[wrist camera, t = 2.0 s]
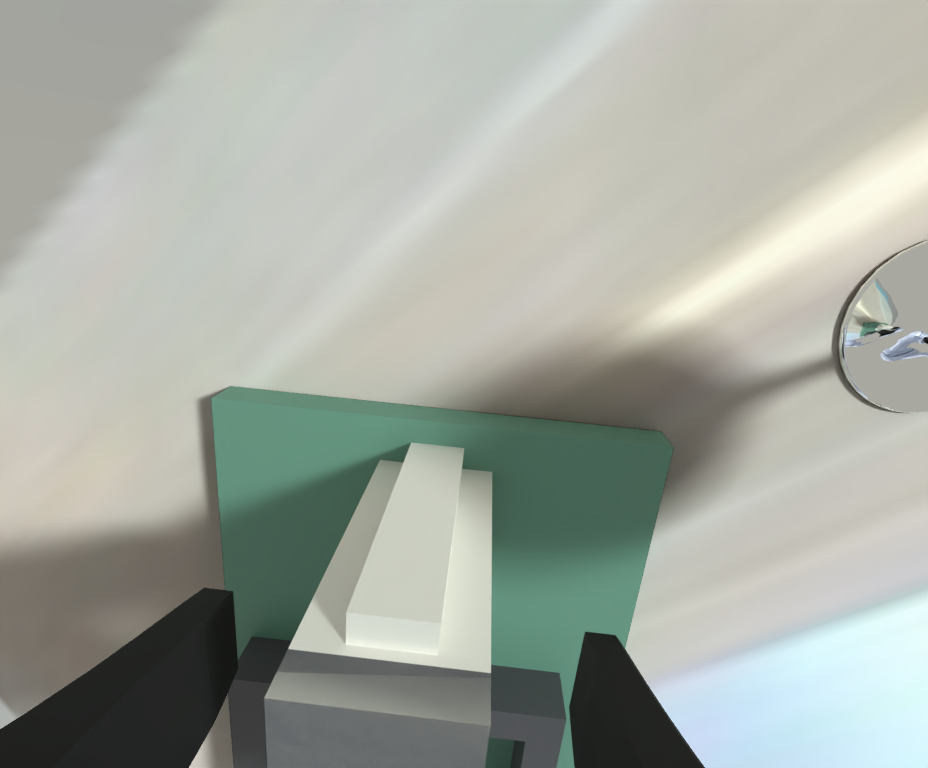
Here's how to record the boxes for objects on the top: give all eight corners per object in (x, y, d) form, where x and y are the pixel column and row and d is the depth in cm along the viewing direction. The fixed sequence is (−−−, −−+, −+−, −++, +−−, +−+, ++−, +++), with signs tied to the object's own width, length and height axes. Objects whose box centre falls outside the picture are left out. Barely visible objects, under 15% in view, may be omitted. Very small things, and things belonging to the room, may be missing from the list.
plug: (475, 609, 14) (460, 934, 8) (374, 597, 15) (273, 909, 8) (494, 451, 13) (495, 691, 6) (380, 439, 13) (262, 663, 6)
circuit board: (574, 806, 18) (586, 894, 16) (252, 766, 18) (217, 846, 16) (661, 431, 14) (696, 475, 11) (230, 386, 14) (176, 419, 12)
